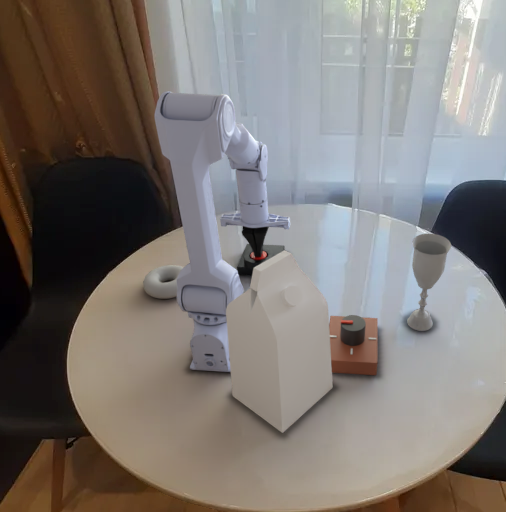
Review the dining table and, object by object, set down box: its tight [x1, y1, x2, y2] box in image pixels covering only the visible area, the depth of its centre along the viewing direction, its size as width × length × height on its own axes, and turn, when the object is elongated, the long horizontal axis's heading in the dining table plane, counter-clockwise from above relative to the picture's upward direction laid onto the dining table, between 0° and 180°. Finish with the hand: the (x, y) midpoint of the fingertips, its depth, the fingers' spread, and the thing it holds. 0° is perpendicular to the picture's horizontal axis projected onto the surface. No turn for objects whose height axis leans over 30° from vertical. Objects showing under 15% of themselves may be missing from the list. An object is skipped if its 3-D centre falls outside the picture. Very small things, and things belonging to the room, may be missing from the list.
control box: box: [236, 243, 286, 277], centre depth 110 cm, size 11×9×4 cm
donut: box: [142, 264, 184, 300], centre depth 103 cm, size 10×4×10 cm
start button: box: [250, 251, 267, 260], centre depth 108 cm, size 4×4×2 cm
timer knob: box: [340, 314, 366, 346], centre depth 86 cm, size 4×4×4 cm
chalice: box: [406, 233, 452, 332], centre depth 90 cm, size 7×7×18 cm
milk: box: [226, 249, 333, 434], centre depth 73 cm, size 12×12×26 cm
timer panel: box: [329, 315, 379, 376], centre depth 88 cm, size 12×9×3 cm
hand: (258, 254), depth 108 cm, fingers closed, pressing on start button
